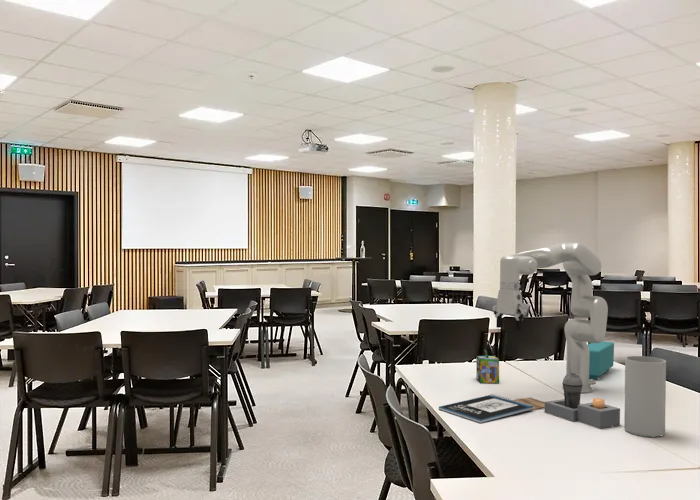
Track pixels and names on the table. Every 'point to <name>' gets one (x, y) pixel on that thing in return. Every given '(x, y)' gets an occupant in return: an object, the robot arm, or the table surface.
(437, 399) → the table surface
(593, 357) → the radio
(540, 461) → the table surface
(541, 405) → the pad
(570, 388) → the beverage cup
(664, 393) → the cylinder vase
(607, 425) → the grey hollow tray
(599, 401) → the brown egg
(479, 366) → the chalk box
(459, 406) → the sketchbook
